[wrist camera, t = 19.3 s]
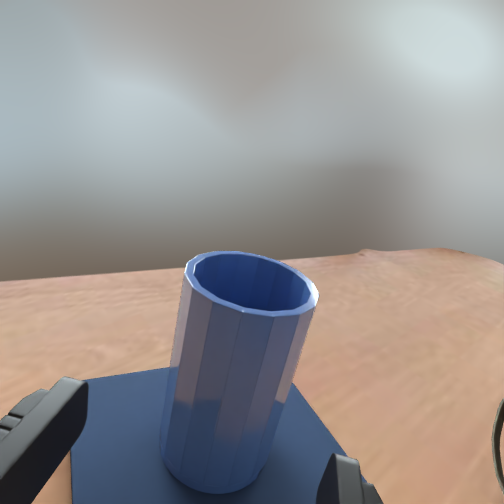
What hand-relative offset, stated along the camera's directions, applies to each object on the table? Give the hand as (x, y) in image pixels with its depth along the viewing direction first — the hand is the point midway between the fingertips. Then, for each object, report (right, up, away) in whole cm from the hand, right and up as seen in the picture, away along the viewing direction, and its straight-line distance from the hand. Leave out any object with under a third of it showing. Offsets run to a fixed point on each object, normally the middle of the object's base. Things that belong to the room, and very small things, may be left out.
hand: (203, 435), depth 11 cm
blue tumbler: (0, -4, +8) cm, 9 cm away
